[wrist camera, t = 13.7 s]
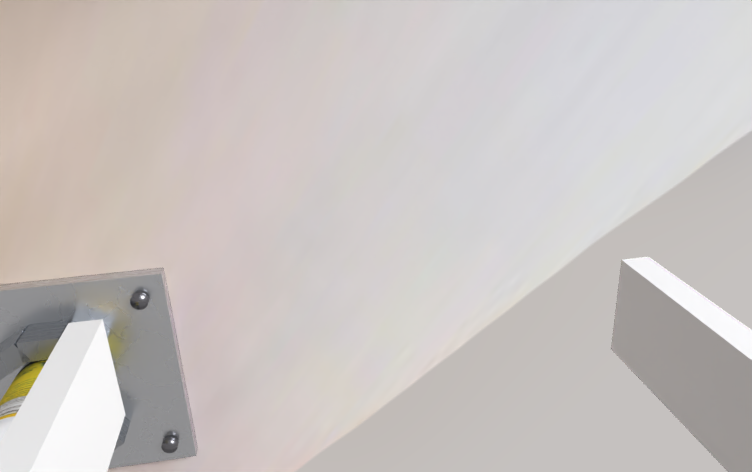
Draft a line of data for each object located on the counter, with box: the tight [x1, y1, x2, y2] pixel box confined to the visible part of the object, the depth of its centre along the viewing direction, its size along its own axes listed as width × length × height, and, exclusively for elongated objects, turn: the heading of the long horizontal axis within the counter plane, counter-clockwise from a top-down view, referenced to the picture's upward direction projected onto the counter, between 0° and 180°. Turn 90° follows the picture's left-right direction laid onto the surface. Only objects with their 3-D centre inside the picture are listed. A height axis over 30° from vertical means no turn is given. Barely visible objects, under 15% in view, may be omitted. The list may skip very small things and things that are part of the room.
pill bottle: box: [0, 360, 47, 442], centre depth 40 cm, size 6×6×11 cm
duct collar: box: [0, 268, 197, 469], centre depth 45 cm, size 16×16×4 cm
